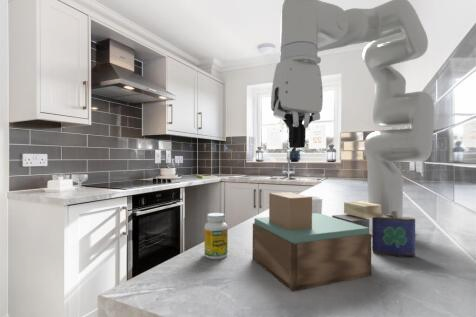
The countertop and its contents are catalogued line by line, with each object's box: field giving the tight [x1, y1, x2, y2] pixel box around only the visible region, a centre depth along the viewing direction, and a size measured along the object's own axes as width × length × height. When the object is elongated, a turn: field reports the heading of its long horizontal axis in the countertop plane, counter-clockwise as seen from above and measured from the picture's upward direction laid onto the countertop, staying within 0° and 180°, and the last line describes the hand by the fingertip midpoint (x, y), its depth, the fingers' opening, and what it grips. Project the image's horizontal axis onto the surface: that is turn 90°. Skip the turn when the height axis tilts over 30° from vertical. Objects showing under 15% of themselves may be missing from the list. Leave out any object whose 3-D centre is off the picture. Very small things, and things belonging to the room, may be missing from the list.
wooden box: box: [251, 213, 372, 292], centre depth 57 cm, size 23×16×10 cm
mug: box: [309, 195, 323, 214], centre depth 86 cm, size 11×9×10 cm
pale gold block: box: [343, 200, 381, 219], centre depth 62 cm, size 5×6×3 cm
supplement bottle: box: [204, 212, 229, 260], centre depth 63 cm, size 5×5×10 cm
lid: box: [254, 191, 369, 244], centre depth 56 cm, size 17×15×7 cm
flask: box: [371, 210, 416, 258], centre depth 64 cm, size 9×3×11 cm, turn 74°
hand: (296, 147), depth 55 cm, fingers closed
